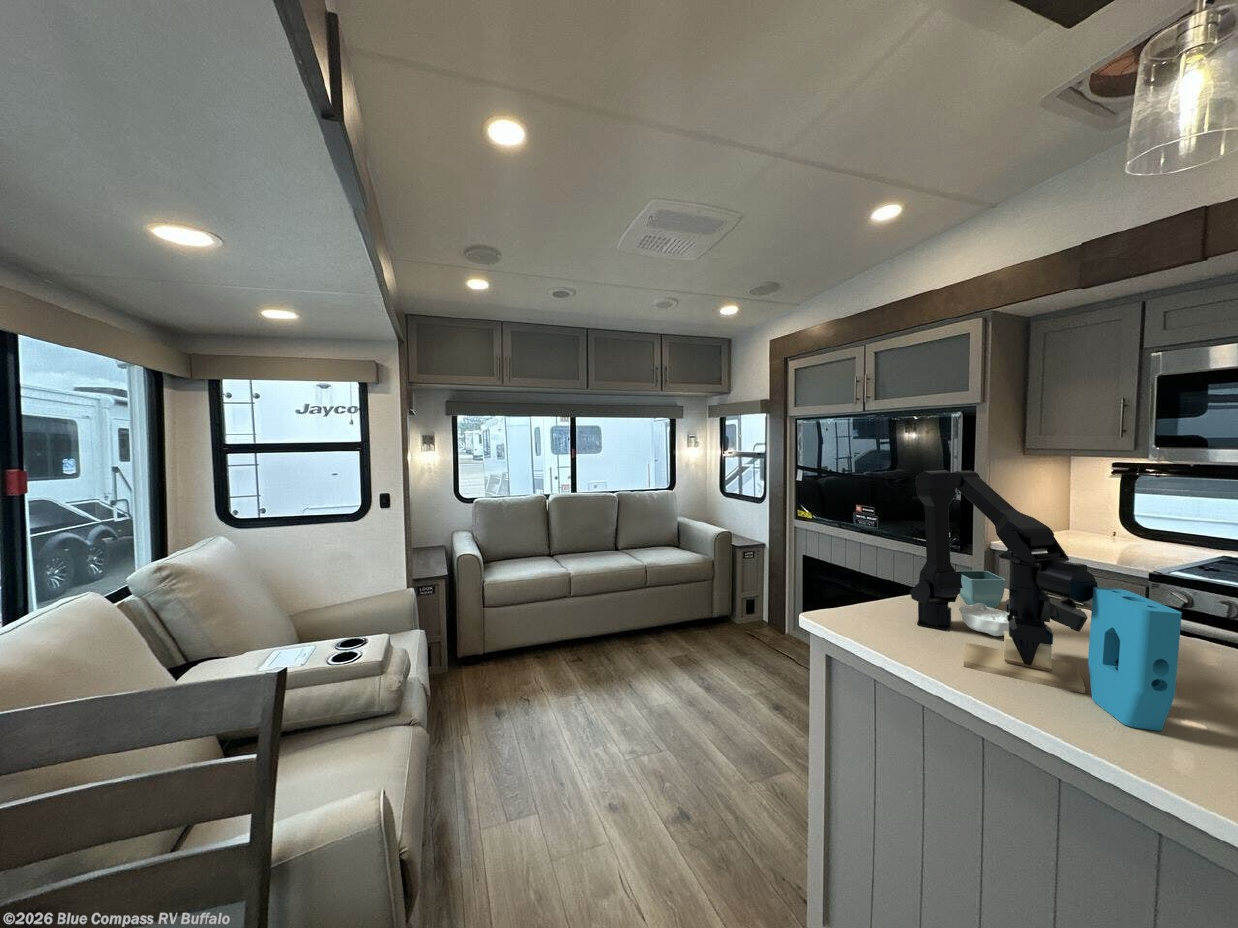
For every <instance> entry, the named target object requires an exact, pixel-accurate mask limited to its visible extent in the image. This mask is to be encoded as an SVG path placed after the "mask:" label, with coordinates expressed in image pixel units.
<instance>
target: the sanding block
mask: <svg viewBox="0 0 1238 928" xmlns="http://www.w3.org/2000/svg"><path fill="white" fill-rule="evenodd" d="M1003 637H1004V638H1003V639H1004V640H1003V641H1004V642H1003V643H1004V644H1003V645H1004V646H1003V650H1004V657H1005V662H1008V663H1012V664H1017V665H1022V666H1027V667H1031V668H1036V669H1041V670H1046V671H1051V667H1052V659H1053V658H1052V655H1053V654H1052V652H1053V646H1052V645H1048V644H1042V643H1041V644H1039V646H1038V648H1037V651H1036V654H1035V656H1034V659H1033V662H1032V665H1026V664H1024V663H1023V660H1022V658H1021V656H1020V654H1019V652H1018V650H1017V648H1016V646H1015V644H1014V642H1013V640H1012V638H1011V637H1009V631H1004V635H1003Z"/></svg>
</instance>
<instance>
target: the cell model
mask: <svg viewBox="0 0 1238 928" xmlns="http://www.w3.org/2000/svg"><path fill="white" fill-rule="evenodd" d="M958 611H959V612H960V614H961V619H962V621H963V622H964V623H965V624H966V625H967V627H968V628H969V629H971V630H974V631H977V632H981V633H986V634H988V635H991V636H993V637H1002V636H1003V637H1004V631H1009V622H1008V620H1007V615H1009V613H1008V612H1006V610H1001V609H997V608H990V607H987V606H986V605H985V604H983V603H975V604H973V605H968V604H966V605H961V606H960V607H959V608H958Z"/></svg>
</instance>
